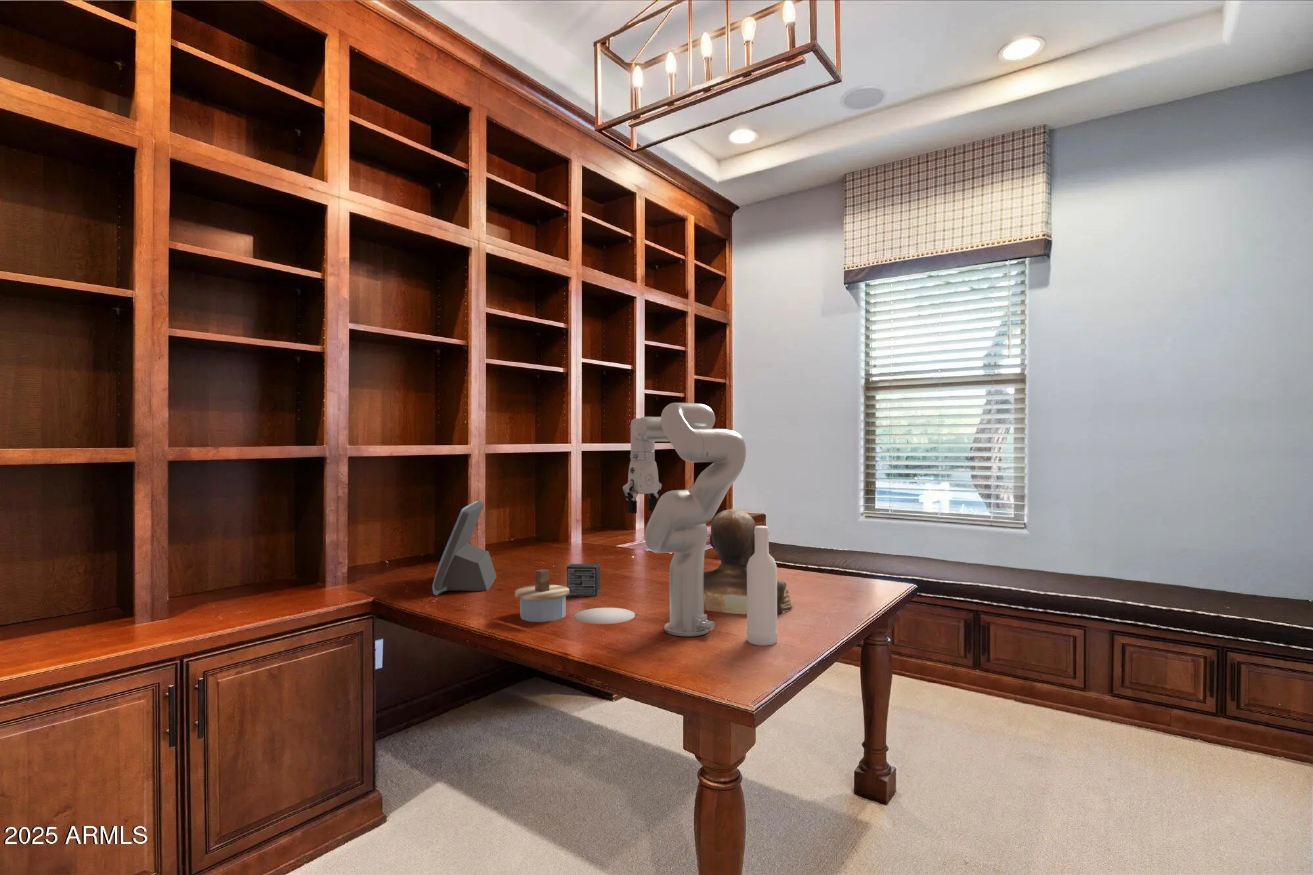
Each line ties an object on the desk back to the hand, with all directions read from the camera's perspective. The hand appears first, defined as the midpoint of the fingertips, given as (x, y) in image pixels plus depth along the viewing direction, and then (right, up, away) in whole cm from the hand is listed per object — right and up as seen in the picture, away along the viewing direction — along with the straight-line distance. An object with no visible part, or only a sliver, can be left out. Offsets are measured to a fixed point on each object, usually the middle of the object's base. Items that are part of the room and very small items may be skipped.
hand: (642, 511), depth 202 cm
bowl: (-30, -30, -10) cm, 44 cm away
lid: (-30, -23, -10) cm, 39 cm away
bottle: (+32, -30, -34) cm, 55 cm away
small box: (-21, -31, +17) cm, 41 cm away
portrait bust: (+30, -31, +4) cm, 43 cm away
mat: (-11, -30, -10) cm, 34 cm away
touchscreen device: (-66, -31, +36) cm, 81 cm away
